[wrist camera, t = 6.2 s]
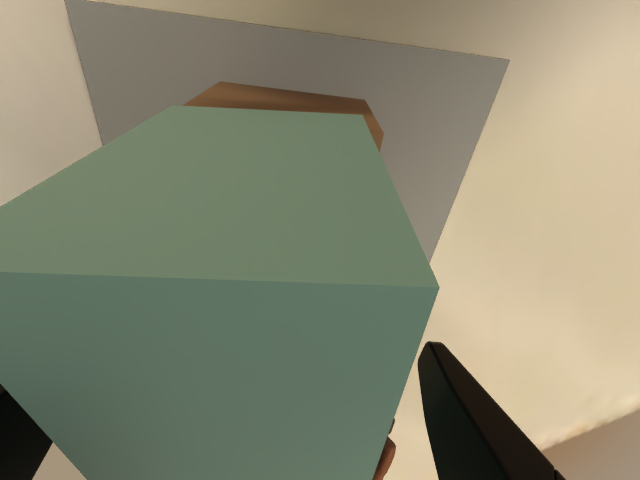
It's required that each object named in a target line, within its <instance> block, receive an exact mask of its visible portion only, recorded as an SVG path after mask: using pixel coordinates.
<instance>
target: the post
mask: <svg viewBox="0 0 640 480" xmlns="http://www.w3.org/2000/svg"><path fill="white" fill-rule="evenodd" d="M182 106H197V107H217V108H237V109H257V110H276V111H296V112H316V113H336V114H356V115H363V117H364V120H365V122H366V124H367V126H368V128H369V131H370V133H371V135H372V137H373V140H374V142H375V144H376V146H377V149H378V151H379V153H380V149H381V144H382V140H383V136H384V132H383V131H382V129H381V127H380V125H379V124H378V122H377V120H376V118H375V117H374V115H373V113H372V111H371V109H370V108H369V106H368V104H367V102H366V101H365V100H363V99H355V98H348V97H340V96H332V95H324V94H316V93H308V92H300V91H292V90H284V89H276V88H269V87H261V86H253V85H245V84H237V83H229V82H221V81H220V82H218V83H217V84H215V85H213V86H212V87H210V88H209V89H207V90H206V91H204V92H202V93H201V94H199V95H198V96H196V97H195V98H193V99H191V100H190V101H188V102H187V103H185V104H184V105H182Z"/></svg>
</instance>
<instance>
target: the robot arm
mask: <svg viewBox="0 0 640 480" xmlns="http://www.w3.org/2000/svg"><path fill="white" fill-rule="evenodd" d="M418 373H419V380H420V388H421V395H422V403H423V410H424V417H425V423H426V428H427V432H428V436H429V441H430V445H431V449H432V453H433V457H434V461H435V466H436V470H437V474H438V478H439V480H566V479H565V478H564V477H563V476H562V475H561V474H560V473H559V472H558V470H554V466H553V465H552V464H551V463H550V462H549V460H548V459H547V458H546V457H545V456H544V455H543V454H542V453H541V452H540V450H539V449H538V448H537V447H536V446H535V445H534V444H533V443H532V442H531V441H530V439H529V438H528V437H527V436H526V435H525V434H524V433H523V432H522V431H521V429H520V428H519V427H518V426H517V425H516V424H515V423H514V422H513V421H512V419H511V418H510V417H509V416H508V415H507V414H506V413H505V412H504V411H503V409H502V408H501V407H500V406H499V405H498V404H497V403H496V402H495V401H494V399H493V398H492V397H491V396H490V395H489V394H488V393H487V392H486V391H485V389H484V388H483V387H482V386H481V385H480V384H479V383H478V382H477V381H476V379H475V378H474V377H473V376H472V375H471V374H470V373H469V372H468V371H467V369H466V368H465V367H464V366H463V365H462V364H461V363H460V362H459V361H458V359H457V358H456V357H455V356H454V355H453V354H452V353H451V352H450V351H449V350H448V348H447V347H446V346H445V345H444V344H442V343H441V342H431V341H429V342H427V343H426V344H425V346H424V348H423V350H422V352H421V354H420V356H419V359H418ZM52 443H53V441H52V440H51V439H50V438H49V437H48V436H47V434H46V433H45V432H44V431H43V430H42V429H41V428H40V427H39V426H38V425H37V423H36V422H35V421H34V420H33V419H32V418H31V417H30V416H29V415H28V413H27V412H26V411H25V410H24V409H23V408H22V407H21V406H20V405H19V403H18V402H17V401H16V400H15V399H14V398H13V397H12V396H11V395H10V393H9V392H8V391H7V390H6V389H5V388H4V387H3V386H2V385H1V384H0V480H32V479H33V477H34V475H35V473H36V471H37V470H38V468H39V466H40V464H41V462H42V461H43V459H44V457H45V455H46V454H47V452H48V450H49V448H50V446H51V444H52Z"/></svg>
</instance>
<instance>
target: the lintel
mask: <svg viewBox="0 0 640 480" xmlns="http://www.w3.org/2000/svg"><path fill="white" fill-rule="evenodd" d="M438 290H439V285H438V283H437V280H436V278H435V276H434V274H433V271H432V269H431V267H430V265H429V262H428V260H427V258H426V256H425V253H424V251H423V249H422V247H421V245H420V242H419V240H418V238H417V236H416V233H415V231H414V229H413V227H412V224H411V222H410V220H409V218H408V216H407V213H406V211H405V209H404V207H403V204H402V202H401V200H400V198H399V195H398V193H397V191H396V189H395V186H394V184H393V182H392V180H391V178H390V175H389V173H388V171H387V169H386V166H385V164H384V162H383V160H382V157H381V155H380V153H379V151H378V149H377V146H376V144H375V142H374V140H373V137H372V135H371V133H370V131H369V128H368V126H367V124H366V122H365V120H364V117H363V115H356V114H336V113H316V112H296V111H276V110H257V109H237V108H217V107H197V106H177V105H172V106H170V107H168V108H167V109H165V110H163V111H162V112H160V113H158V114H157V115H155V116H153V117H152V118H150V119H148V120H146V121H145V122H143V123H141V124H140V125H138V126H136V127H135V128H133V129H131V130H130V131H128V132H126V133H124V134H123V135H121V136H119V137H118V138H116V139H114V140H113V141H111V142H109V143H108V144H106V145H104V146H103V147H101V148H99V149H97V150H96V151H94V152H92V153H91V154H89V155H87V156H86V157H84V158H82V159H81V160H79V161H77V162H75V163H74V164H72V165H70V166H69V167H67V168H65V169H64V170H62V171H60V172H59V173H57V174H55V175H53V176H52V177H50V178H48V179H47V180H45V181H43V182H42V183H40V184H38V185H37V186H35V187H33V188H32V189H30V190H28V191H26V192H25V193H23V194H21V195H20V196H18V197H16V198H15V199H13V200H11V201H10V202H8V203H6V204H4V205H3V206H1V207H0V384H1V385H2V386H3V387H4V388H5V389H6V390H7V391H8V392H9V393H10V395H11V396H12V397H13V398H14V399H15V400H16V401H17V402H18V403H19V405H20V406H21V407H22V408H23V409H24V410H25V411H26V412H27V413H28V415H29V416H30V417H31V418H32V419H33V420H34V421H35V422H36V423H37V425H38V426H39V427H40V428H41V429H42V430H43V431H44V432H45V433H46V434H47V436H48V437H49V438H50V439H51V440H52V441H53V442H54V443H55V444H56V446H57V447H58V448H59V449H60V450H61V451H62V452H63V453H64V454H65V455H66V457H67V458H68V459H69V460H70V461H71V462H72V463H73V464H74V466H75V467H76V468H77V469H78V470H79V471H80V472H81V473H82V474H83V475H84V477H85V478H86V479H87V480H372V479H373V476H374V473H375V470H376V467H377V465H378V462H379V459H380V456H381V453H382V450H383V447H384V445H385V442H386V439H387V436H388V433H389V430H390V427H391V425H392V422H393V419H394V416H395V413H396V410H397V407H398V405H399V402H400V399H401V396H402V393H403V390H404V387H405V385H406V382H407V379H408V376H409V373H410V370H411V367H412V365H413V362H414V359H415V356H416V353H417V350H418V347H419V345H420V342H421V339H422V336H423V333H424V330H425V327H426V325H427V322H428V319H429V316H430V313H431V310H432V307H433V305H434V302H435V299H436V296H437V293H438Z"/></svg>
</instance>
